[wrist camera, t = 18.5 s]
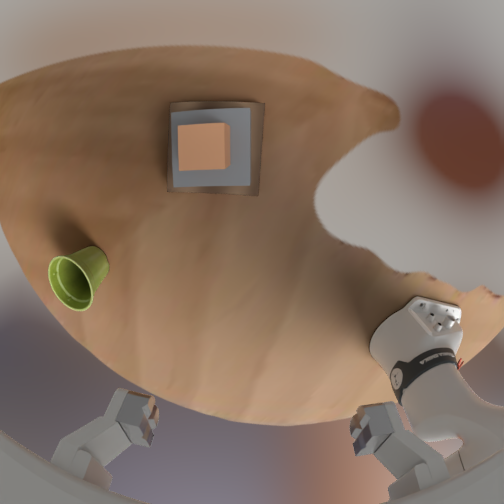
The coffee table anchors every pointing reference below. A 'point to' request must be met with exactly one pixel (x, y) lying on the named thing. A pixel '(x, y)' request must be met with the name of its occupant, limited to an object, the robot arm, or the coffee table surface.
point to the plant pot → (78, 276)
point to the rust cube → (204, 146)
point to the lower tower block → (256, 146)
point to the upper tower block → (239, 148)
